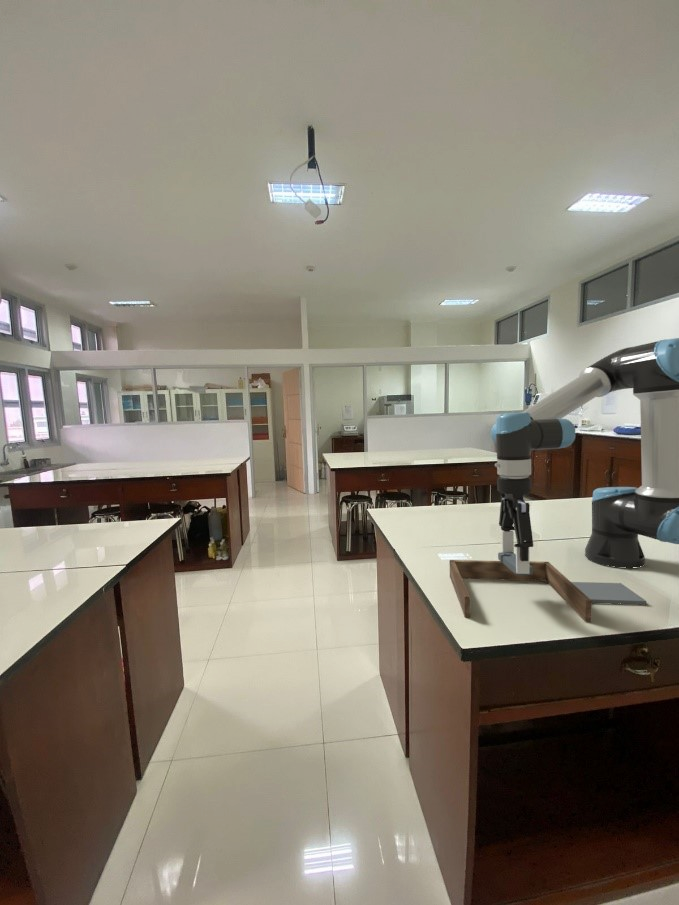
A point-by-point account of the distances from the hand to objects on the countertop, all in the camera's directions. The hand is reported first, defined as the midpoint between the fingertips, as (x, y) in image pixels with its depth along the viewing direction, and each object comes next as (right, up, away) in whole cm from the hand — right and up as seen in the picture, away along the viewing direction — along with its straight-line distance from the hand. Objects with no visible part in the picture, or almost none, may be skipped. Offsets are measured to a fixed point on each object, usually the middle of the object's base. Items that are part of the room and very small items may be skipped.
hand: (514, 563), depth 92 cm
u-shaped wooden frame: (0, -9, +3) cm, 10 cm away
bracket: (0, -1, 0) cm, 1 cm away
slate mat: (+23, -9, +2) cm, 25 cm away
